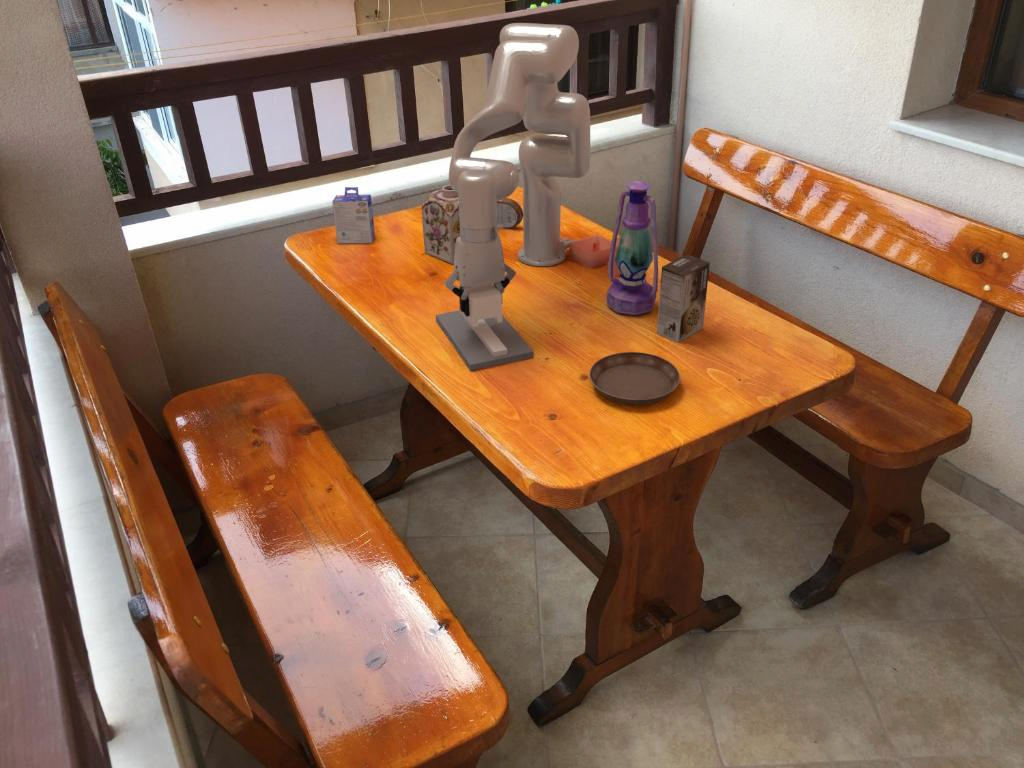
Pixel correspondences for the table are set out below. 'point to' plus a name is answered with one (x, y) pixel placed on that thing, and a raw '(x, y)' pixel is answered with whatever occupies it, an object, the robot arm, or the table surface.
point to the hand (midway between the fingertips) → (481, 310)
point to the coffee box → (682, 297)
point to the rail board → (484, 340)
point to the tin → (509, 213)
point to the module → (484, 304)
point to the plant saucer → (634, 378)
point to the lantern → (634, 253)
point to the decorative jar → (441, 223)
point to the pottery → (594, 252)
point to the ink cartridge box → (353, 217)
